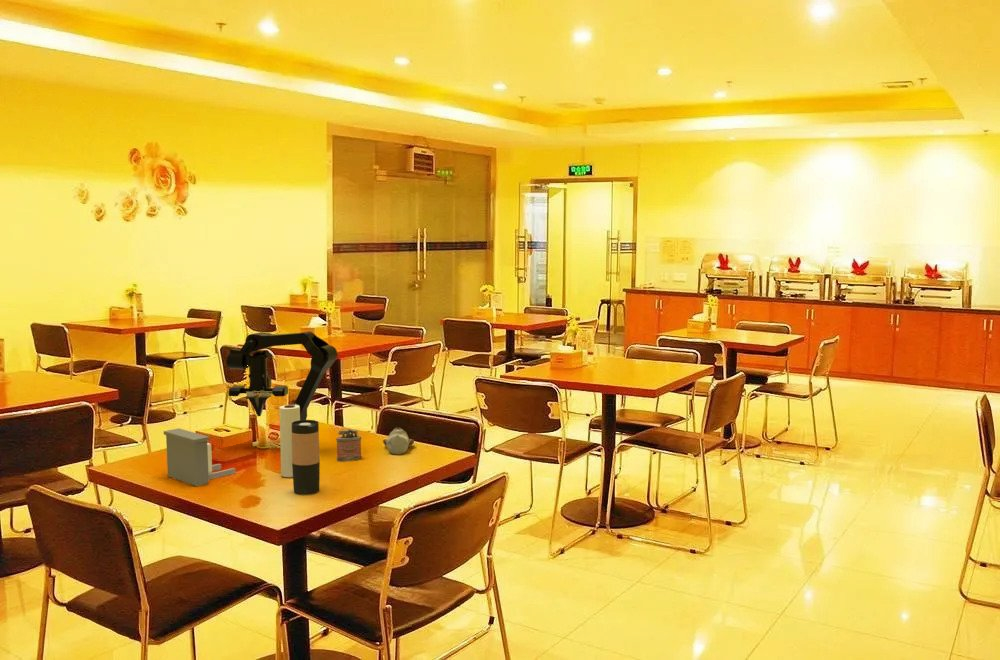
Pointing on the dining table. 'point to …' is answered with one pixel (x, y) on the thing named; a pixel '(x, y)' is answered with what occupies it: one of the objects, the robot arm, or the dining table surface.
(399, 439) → the ceramic sculpture
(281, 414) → the paper towel roll
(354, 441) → the lighter
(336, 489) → the dining table surface
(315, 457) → the travel mug
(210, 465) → the cream rectangular block
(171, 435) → the grey boxy piece
